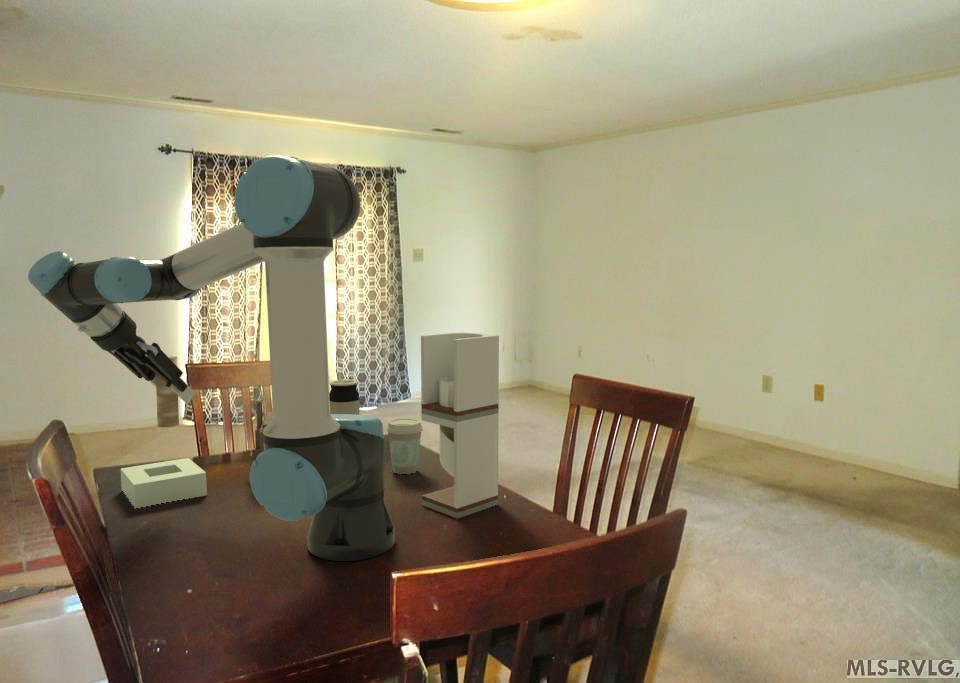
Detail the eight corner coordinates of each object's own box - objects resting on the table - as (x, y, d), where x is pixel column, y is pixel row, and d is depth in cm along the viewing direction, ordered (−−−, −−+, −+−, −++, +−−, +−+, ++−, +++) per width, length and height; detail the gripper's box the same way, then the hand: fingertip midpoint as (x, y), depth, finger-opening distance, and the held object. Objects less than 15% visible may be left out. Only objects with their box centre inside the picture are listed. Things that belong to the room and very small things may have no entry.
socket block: (206, 495, 149) (205, 472, 148) (135, 509, 140) (133, 484, 140) (189, 479, 160) (188, 457, 159) (121, 490, 151) (120, 468, 151)
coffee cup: (379, 472, 165) (378, 422, 164) (403, 464, 172) (402, 416, 171) (406, 478, 161) (406, 427, 159) (430, 469, 168) (429, 420, 166)
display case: (462, 492, 151) (462, 331, 147) (498, 504, 143) (498, 335, 140) (422, 505, 143) (420, 335, 139) (457, 518, 135) (456, 339, 132)
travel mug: (365, 448, 187) (363, 382, 185) (337, 453, 182) (335, 385, 180) (352, 442, 193) (351, 378, 191) (325, 446, 188) (323, 381, 186)
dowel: (183, 424, 143) (181, 356, 142) (166, 428, 140) (164, 359, 138) (169, 421, 145) (167, 355, 144) (153, 425, 142) (150, 357, 140)
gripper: (64, 335, 131) (145, 407, 147) (123, 342, 123) (202, 416, 139) (89, 306, 135) (165, 378, 151) (149, 310, 127) (222, 386, 143)
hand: (183, 396), depth 145 cm, fingers closed on dowel, 4 cm apart
